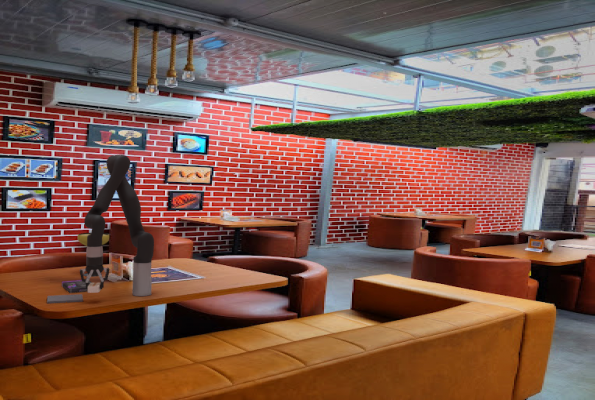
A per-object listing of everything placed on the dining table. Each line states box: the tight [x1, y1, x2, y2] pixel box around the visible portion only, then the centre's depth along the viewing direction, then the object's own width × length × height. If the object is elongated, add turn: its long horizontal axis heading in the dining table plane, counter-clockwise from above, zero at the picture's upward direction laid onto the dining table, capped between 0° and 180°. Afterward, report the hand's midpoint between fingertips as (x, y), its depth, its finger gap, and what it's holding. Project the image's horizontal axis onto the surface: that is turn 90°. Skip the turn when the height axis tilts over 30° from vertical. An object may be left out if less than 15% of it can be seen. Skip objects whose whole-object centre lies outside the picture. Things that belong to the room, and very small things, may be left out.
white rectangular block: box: [87, 282, 102, 294], centre depth 261 cm, size 8×5×3 cm, turn 11°
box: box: [61, 279, 93, 294], centre depth 289 cm, size 14×4×20 cm
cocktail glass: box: [77, 232, 110, 278], centre depth 326 cm, size 18×18×25 cm
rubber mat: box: [46, 293, 84, 304], centre depth 264 cm, size 16×12×1 cm
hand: (94, 289), depth 261 cm, fingers closed on white rectangular block, 5 cm apart
